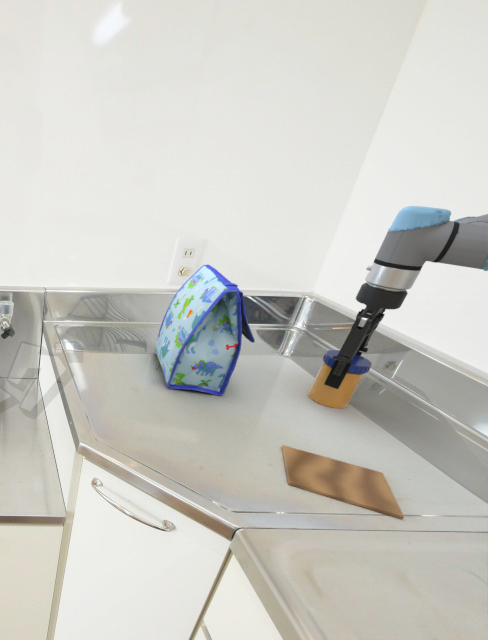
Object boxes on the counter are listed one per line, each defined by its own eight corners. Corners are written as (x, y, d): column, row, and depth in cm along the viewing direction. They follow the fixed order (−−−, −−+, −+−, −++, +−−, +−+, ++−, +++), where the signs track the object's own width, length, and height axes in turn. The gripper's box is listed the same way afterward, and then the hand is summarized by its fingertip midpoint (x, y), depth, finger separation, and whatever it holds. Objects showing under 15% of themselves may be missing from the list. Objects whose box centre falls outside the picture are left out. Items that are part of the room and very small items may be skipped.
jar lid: (328, 353, 102) (332, 346, 101) (372, 367, 97) (376, 360, 96) (317, 363, 97) (321, 355, 96) (362, 377, 92) (366, 370, 91)
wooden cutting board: (381, 475, 78) (382, 472, 77) (402, 519, 68) (404, 516, 68) (281, 447, 84) (282, 444, 83) (288, 484, 74) (289, 482, 74)
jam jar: (343, 396, 103) (363, 357, 98) (350, 411, 97) (373, 371, 92) (305, 387, 106) (324, 349, 101) (310, 402, 100) (330, 362, 95)
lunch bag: (236, 399, 99) (279, 292, 87) (163, 390, 101) (195, 284, 89) (208, 358, 118) (240, 265, 106) (148, 351, 120) (171, 259, 108)
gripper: (375, 274, 96) (331, 362, 107) (350, 289, 84) (303, 387, 95) (418, 283, 92) (367, 374, 103) (398, 300, 79) (343, 401, 90)
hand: (336, 380), depth 99 cm, fingers closed on jar lid, 8 cm apart
